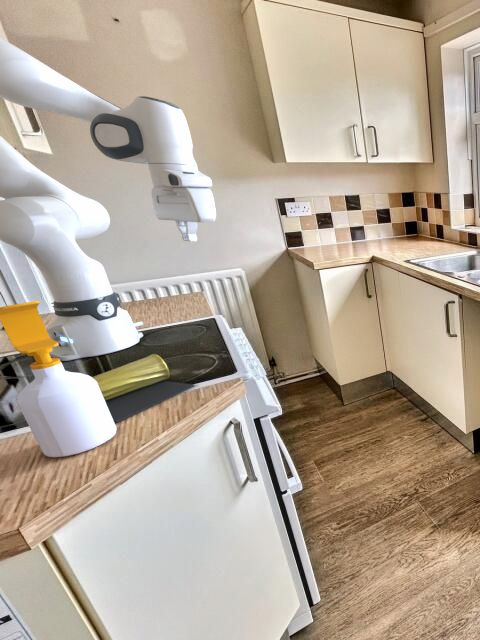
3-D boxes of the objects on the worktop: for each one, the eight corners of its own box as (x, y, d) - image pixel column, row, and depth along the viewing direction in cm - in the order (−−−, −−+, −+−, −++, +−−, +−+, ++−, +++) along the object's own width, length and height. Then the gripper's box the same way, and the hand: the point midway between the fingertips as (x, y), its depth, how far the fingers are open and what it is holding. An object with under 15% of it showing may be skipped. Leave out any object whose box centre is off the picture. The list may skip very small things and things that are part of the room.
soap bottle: (53, 465, 65) (-24, 314, 57) (37, 448, 70) (-37, 306, 61) (125, 436, 72) (67, 298, 64) (106, 422, 77) (49, 292, 68)
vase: (168, 384, 94) (87, 416, 82) (150, 364, 94) (67, 394, 82) (171, 368, 91) (88, 399, 79) (153, 348, 91) (67, 376, 79)
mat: (43, 410, 82) (42, 408, 82) (126, 377, 95) (125, 375, 95) (117, 422, 77) (116, 421, 77) (194, 386, 90) (193, 384, 90)
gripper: (137, 178, 98) (153, 239, 102) (183, 177, 88) (198, 244, 93) (169, 179, 103) (182, 237, 107) (215, 179, 94) (228, 242, 98)
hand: (190, 241), depth 100 cm, fingers closed
